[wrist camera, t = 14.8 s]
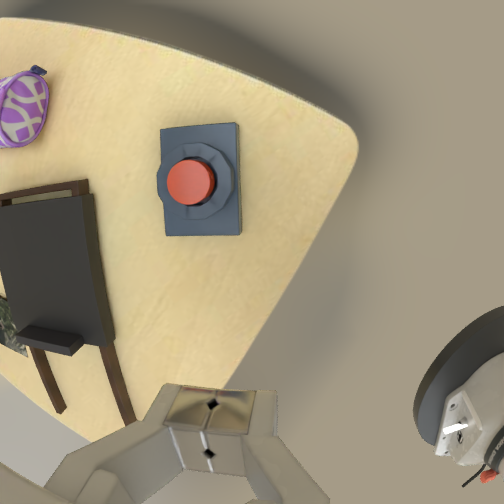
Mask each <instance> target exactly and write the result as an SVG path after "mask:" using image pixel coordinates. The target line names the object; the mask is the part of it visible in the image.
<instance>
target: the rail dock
mask: <svg viewBox="0 0 504 504" xmlns="http://www.w3.org/2000/svg"><path fill="white" fill-rule="evenodd" d="M68 189H72V196H81V195H86V194H89V188H88V179H85V180H78V181H71V182H64V183H58V184H52V185H46V186H40V187H35V188H29V189H24V190H19V191H14V192H9V193H4V194H0V207H2V206H8V205H12V203H11V198H17V197H23V196H29V195H35V194H41V193H48V192H54V191H61V190H68ZM29 348H30V351H31V353H32V356H33V359H34V361H35V364H36V367H37V369H38V372H39V374H40V376H41V379H42V381H43V384H44V386H45V388H46V391H47V393H48V395H49V397H50V399H51V402H52V404H53V406H54V408H55V410H56V412H57V413H59V414H62V413H63V411H64V410H65V409H66V408H67V407H66V405H65V403H64V400H63V398H62V396H61V393H60V391H59V389H58V386H57V384H56V381H55V379H54V376H53V374H52V371H51V369H50V366H49V363H48V361H47V358H46V355H45V352H44V350H42V349H38V348H34V347H31V346H29ZM99 349H100V352H101V356H102V359H103V363H104V366H105V369H106V372H107V376H108V379H109V382H110V385H111V388H112V391H113V394H114V397H115V400H116V402H117V405H118V408H119V411H120V413H121V416H122V419H123V421H124V424H125V426H127V425H129V424H131V423H133V422H135V421H137V420H136V417H135V414H134V411H133V408H132V405H131V402H130V399H129V396H128V393H127V390H126V387H125V383H124V380H123V377H122V373H121V370H120V366H119V363H118V359H117V355H116V352H115V348H114V344H113V342H112V343H111V344H110V345H109V346H108V347H101V346H99Z"/></svg>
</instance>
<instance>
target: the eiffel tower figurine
mask: <svg viewBox="0 0 504 504" xmlns="http://www.w3.org/2000/svg"><path fill="white" fill-rule="evenodd" d="M18 332H20V330H17V329H16V327H15V324H14V321H13V318H12V315H11V311H10V308H9V304H8V302H7V301H5V300H4V299H2V298H0V343H1V344H2V345H4V346H6V347H8V348H10V349H12V350H14V351H16V352H18V353H20V354H22V355H24V356H26V357H28V356H27V353H26V349H25V346H24V345H23V344H20V343H17V340H16V337H15V334H17V333H18Z"/></svg>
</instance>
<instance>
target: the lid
mask: <svg viewBox="0 0 504 504" xmlns="http://www.w3.org/2000/svg"><path fill="white" fill-rule="evenodd" d="M0 272H1V276H2V280H3V285H4V289H5V293H6V297H7V300H8V304H9V308H10V311H11V315H12V318H13V321H14V324H15V327H16V329H17V330H21V331H20V332H18V333H17V334H15V337H16V340H17V343H20V344H23V345H27V346H31V347H34V348H38V349H42V350H46V351H50V352H54V353H59V354H63V355H67V356H72V355H73V354H74V353H75V352H76V351H78V350H79V349H80V348H81V347H82V346H83V345H84V344H89V345H95V346H101V347H108V346H109V345H110V344H111V343H112V342H113V341H114V340H115V339H116V338H115V334H114V329H113V325H112V320H111V316H110V311H109V306H108V301H107V296H106V291H105V285H104V280H103V274H102V268H101V261H100V255H99V247H98V240H97V232H96V223H95V214H94V203H93V194H86V195H81V196H72V197H64V198H56V199H49V200H41V201H34V202H27V203H21V204H14V205H8V206H2V207H0Z"/></svg>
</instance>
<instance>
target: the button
mask: <svg viewBox="0 0 504 504" xmlns="http://www.w3.org/2000/svg"><path fill="white" fill-rule="evenodd" d="M214 184H215V178H214V174H213V172H212V170H211V168H210V167H209V166H208V165H207V164H206V163H204V162H202V161H199V160H183V161H180V162H178V163H177V164H175V165H174V166H173V167H172V169H171V170H170V172H169V174H168V177H167V187H168V191H169V193H170V195H171V196H172V197H173V199H175V200H176V201H177V202H179V203H181V204H185V205H192V204H196V203H198V202H200V201H203V200H205V199H206V198H207V197H208V196H209V195H210V194H211V193H212V191H213V188H214Z"/></svg>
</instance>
